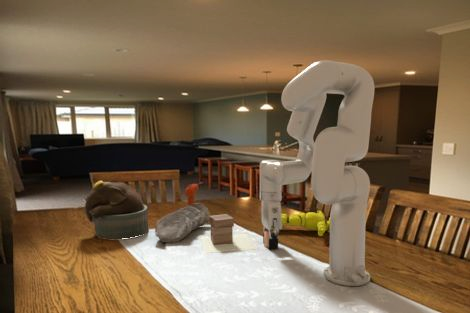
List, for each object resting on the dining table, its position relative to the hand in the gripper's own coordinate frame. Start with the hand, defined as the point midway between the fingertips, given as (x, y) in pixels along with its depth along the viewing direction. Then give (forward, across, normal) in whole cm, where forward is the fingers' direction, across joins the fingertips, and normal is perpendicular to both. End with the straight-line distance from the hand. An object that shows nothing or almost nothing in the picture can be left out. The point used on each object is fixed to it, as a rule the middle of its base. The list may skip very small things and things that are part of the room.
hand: (270, 246), depth 129 cm
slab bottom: (0, +9, +16) cm, 18 cm away
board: (+1, +7, +14) cm, 16 cm away
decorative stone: (+1, +25, +29) cm, 38 cm away
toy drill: (+1, +61, +21) cm, 65 cm away
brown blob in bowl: (+1, +31, +55) cm, 63 cm away
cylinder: (+1, 0, 0) cm, 1 cm away
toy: (+1, +17, -21) cm, 27 cm away
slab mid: (-3, +9, +16) cm, 19 cm away
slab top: (-6, +9, +16) cm, 19 cm away
